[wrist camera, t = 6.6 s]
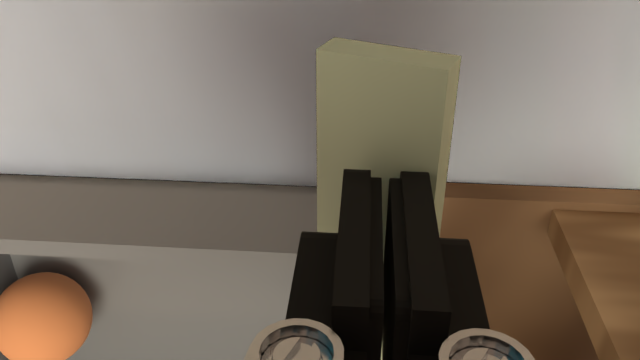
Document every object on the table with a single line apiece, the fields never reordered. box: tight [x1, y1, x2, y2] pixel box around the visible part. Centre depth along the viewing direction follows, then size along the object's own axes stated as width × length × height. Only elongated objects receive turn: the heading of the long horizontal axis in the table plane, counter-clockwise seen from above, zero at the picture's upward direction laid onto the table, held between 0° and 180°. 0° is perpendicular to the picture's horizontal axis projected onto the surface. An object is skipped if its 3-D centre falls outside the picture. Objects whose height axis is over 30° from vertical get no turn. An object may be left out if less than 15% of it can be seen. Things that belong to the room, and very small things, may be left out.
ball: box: [0, 272, 93, 360], centre depth 24 cm, size 4×4×4 cm
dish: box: [0, 174, 317, 360], centre depth 24 cm, size 10×14×4 cm
